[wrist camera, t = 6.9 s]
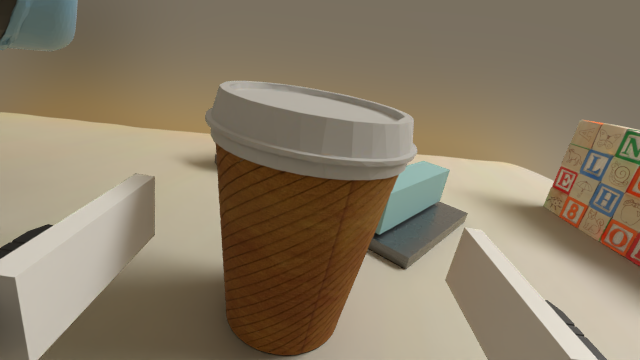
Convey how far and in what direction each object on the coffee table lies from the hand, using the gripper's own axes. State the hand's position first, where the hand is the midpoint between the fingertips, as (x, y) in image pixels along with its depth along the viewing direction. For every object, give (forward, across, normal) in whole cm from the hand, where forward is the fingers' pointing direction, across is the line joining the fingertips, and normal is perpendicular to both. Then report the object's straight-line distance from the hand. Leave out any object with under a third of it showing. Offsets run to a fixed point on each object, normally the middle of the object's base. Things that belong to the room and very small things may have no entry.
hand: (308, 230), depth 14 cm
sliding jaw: (+17, +9, -6) cm, 20 cm away
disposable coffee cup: (+3, 0, -7) cm, 8 cm away
